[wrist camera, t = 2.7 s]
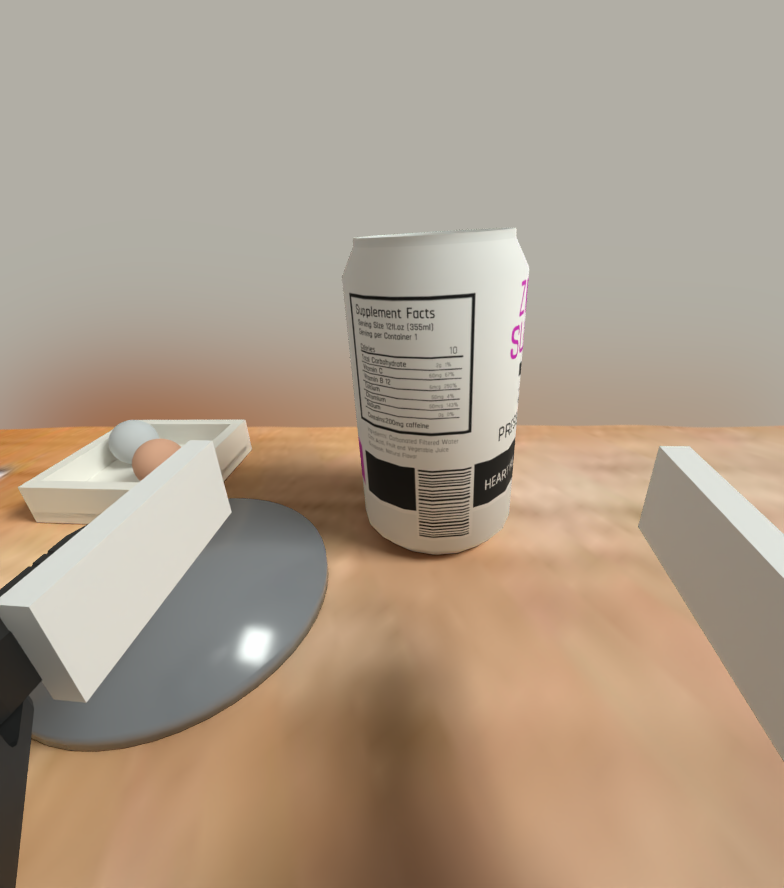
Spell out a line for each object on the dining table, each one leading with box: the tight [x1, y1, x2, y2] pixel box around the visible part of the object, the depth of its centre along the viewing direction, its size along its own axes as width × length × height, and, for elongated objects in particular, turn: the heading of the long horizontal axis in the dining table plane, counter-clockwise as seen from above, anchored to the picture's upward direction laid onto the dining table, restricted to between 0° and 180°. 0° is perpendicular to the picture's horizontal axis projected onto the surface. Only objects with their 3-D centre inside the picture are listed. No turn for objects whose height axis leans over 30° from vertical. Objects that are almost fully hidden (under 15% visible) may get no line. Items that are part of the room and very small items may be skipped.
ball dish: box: [18, 420, 252, 524], centre depth 30 cm, size 10×10×3 cm
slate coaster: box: [29, 498, 328, 751], centre depth 21 cm, size 14×14×1 cm
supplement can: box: [342, 228, 529, 555], centre depth 22 cm, size 8×8×15 cm
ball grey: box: [108, 420, 159, 464], centre depth 31 cm, size 3×3×3 cm
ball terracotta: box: [132, 439, 181, 481], centre depth 28 cm, size 3×3×3 cm
